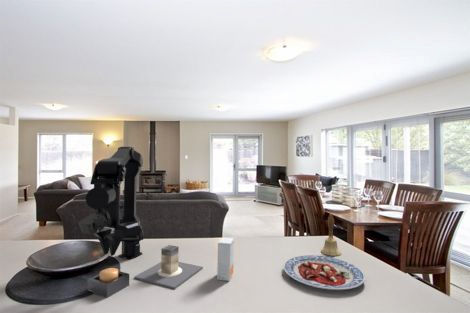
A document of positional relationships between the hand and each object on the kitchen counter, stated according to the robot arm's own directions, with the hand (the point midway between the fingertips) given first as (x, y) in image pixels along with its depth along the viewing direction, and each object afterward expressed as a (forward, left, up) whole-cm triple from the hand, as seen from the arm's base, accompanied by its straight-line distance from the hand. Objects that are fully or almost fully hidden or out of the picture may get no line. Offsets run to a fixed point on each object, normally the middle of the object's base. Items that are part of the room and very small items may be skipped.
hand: (109, 254), depth 79 cm
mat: (+10, +16, -10) cm, 21 cm away
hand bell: (+58, +61, -10) cm, 85 cm away
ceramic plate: (+57, +37, -10) cm, 69 cm away
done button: (0, 0, -8) cm, 8 cm away
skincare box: (+28, +22, -10) cm, 37 cm away
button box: (0, 0, -10) cm, 10 cm away
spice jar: (+10, +16, -9) cm, 21 cm away
